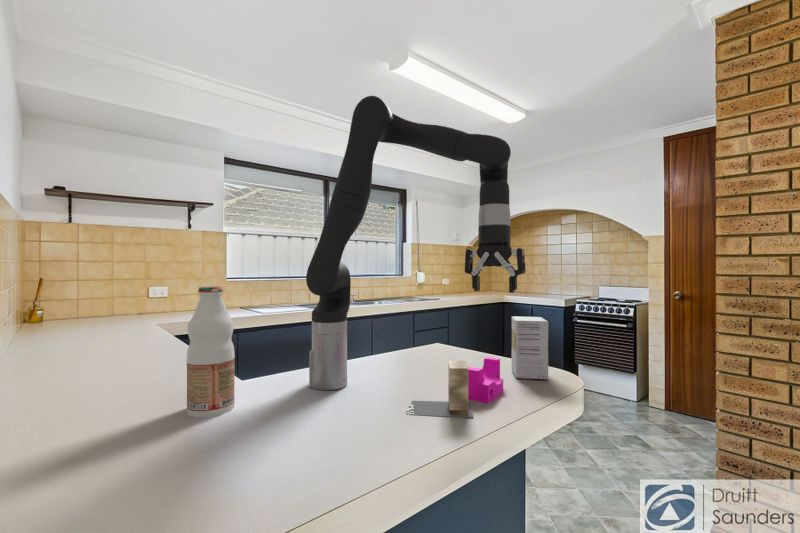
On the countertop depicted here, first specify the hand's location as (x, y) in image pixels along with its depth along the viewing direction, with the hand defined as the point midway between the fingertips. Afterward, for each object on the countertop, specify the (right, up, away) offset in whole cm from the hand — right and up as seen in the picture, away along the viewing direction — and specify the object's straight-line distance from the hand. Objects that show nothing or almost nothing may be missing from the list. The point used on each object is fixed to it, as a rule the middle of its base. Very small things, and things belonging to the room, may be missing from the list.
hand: (494, 291), depth 94 cm
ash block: (-10, -26, -6) cm, 28 cm away
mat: (-15, -26, -6) cm, 31 cm away
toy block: (0, -27, +6) cm, 27 cm away
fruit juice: (-64, -26, -9) cm, 70 cm away
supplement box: (+16, -26, +23) cm, 38 cm away
